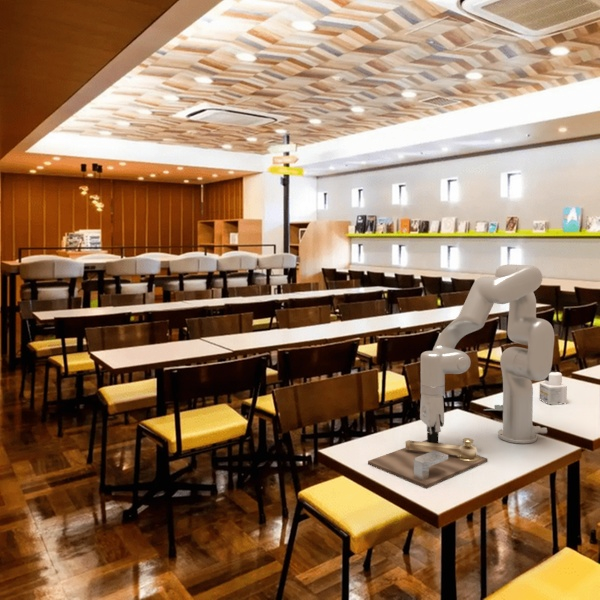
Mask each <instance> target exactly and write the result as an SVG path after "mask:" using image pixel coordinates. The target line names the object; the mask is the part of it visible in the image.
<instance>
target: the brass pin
mask: <svg viewBox="0 0 600 600" xmlns="http://www.w3.org/2000/svg"><path fill="white" fill-rule="evenodd" d="M462 443H464V445H465V447H466V448H471V446H472V444H473V443H474V439H473V438H468V437H467V438H462ZM477 455H478V454H476V457H475V458H464V457H461V456H459V455H457V458H458V459H460V460H462V461H466V462H474V461H477V460H478V459H479V457H478V456H477Z"/></svg>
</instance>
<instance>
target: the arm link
mask: <svg viewBox="0 0 600 600" xmlns="http://www.w3.org/2000/svg"><path fill="white" fill-rule="evenodd" d="M405 448H406V449H408V450H416V451H425V452H432V451H434V450H435V451H438V452H441V453H444V454H451V455H459V456H461V457H464V458H475V457H476V455H477V447H476V446H475V445H471V448H466V447H465V444H463V445H455V444H448V443H447V444H446V443H445V444H444V443H442V444H438V443H429V442H422V441H417V440H406V441H405Z"/></svg>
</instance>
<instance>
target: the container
mask: <svg viewBox="0 0 600 600" xmlns="http://www.w3.org/2000/svg"><path fill="white" fill-rule="evenodd" d="M562 381H563V374H562V373H561V372H560V371H558V370H551V371H550V373H549V375H548V377H547V378H545V379H544V382H542V381H541V382H539V400H540V399H541V400H543V401H544V402H547V403H548V404H558V405H560V404H559V403H566V404H567V400H568V399H567V398H568V396H567V395H568V393H567V391H568V387H567V385H565V384H564V383H563V382H562ZM541 400H540V401H541ZM543 401H542V402H543ZM544 402H543V403H544ZM548 404H547V405H548Z"/></svg>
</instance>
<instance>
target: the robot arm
mask: <svg viewBox="0 0 600 600" xmlns="http://www.w3.org/2000/svg"><path fill="white" fill-rule="evenodd" d="M494 274H495V275H494V276H480V277H478V278H477V279H475V281H473V284H472V286H471V288H470V290H469V292H468V295H467V297H466V299H465V302H464V303H463V305H462V308H461V310H460V312H459V314H458V315H457V316H456V318H455V319H454V320H452V321H450V323H449V324H448V325H446V327H445V328H444V329H443V330H442V331H441V332H440V334H439V336H438V337H437V339H436V341H435V343H434V346H433V348H432V350H426V351H423V352H422V353H421V354H420V395H421V396H420V409H419V411H420V413H419V418H420V421H422V423H424V424H425V425H426V432H427V433H426V436H427V437H426V440H427V442H429V443H438V442H439V435H440V433H441V432H442V431H441V429H442V427H444V426H445V408H444V396H445V391H446V389H445V387H446V386H445V385H446V384H445V383H446V380H445V377H446V376H445V375H446V374H450V375H452V374H453V375H459V374H464V373H466V372H467V371H468V370H469V369H470V367H471V358H470V356H469V355H468V354H467V353H466V352H464V351H462V350H459V349H456V346H457V344H458V343H459V341H460V340H461V339H462V338H464V337H465V336H466V335H469V334H471V333H474V332H476V331H479V330H481V329H482V328H484V326H485V324H486V321H487V320H488V317H489V315H490V312H491V310H492V308H493V306H494V305H495V304H497V305H505V304H508V306H509V307H508V308H509V309H508V317H507V336H508V337H507V338H508V339H509V340H510V341H512V342H513V343H516V344H520V345H525V346H527V348H525V347H520V346H511V347H508V348H506V349H504V351H503V352H502V353H501V355H500V360H499V362H500V370H501V375H502V405H503V410H502V429H500V430H499V431H497V437H498V438H499V439H500V440H502V441H505V442H508V443H514V444H522V445H523V444H532V443H535V442H537V440H538V434H548V428H547V427H541V425H536V426H535V425H533V404H534V403H533V401H534V399H533V398H534V397H533V396H534V387H533V383H532V382H533V381H535V382H540V381H541V382H542V381H543V380H544V381H545V378H547V377H548V375H549V373H550V371H552V367H553V360H554V359H553V357H554V348H555V347H554V346H555V331H554V328H553V326H552V324H551V323H550V322H549V321H548V320H546V319H544V318H539V317H537V299H536V296H535V293H534V292H535V291H537V289H538V288H540V287H541V285H542V282H543V273H542V271H541V269H539V268H538V267H536V266H534V265H530V264H503V265H501V266H499V267H498V268H497V269H496V270H495V273H494Z"/></svg>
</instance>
